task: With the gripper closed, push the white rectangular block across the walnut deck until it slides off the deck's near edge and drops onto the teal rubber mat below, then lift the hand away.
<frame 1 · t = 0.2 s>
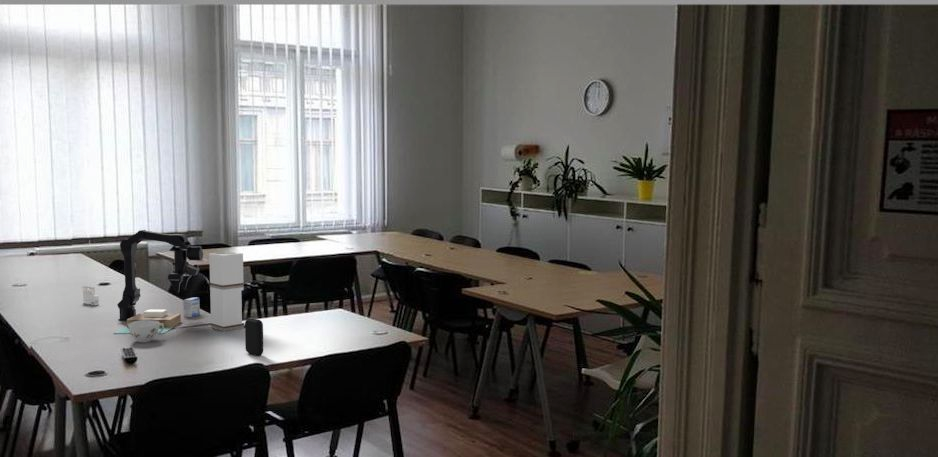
hand: (180, 291, 386), 14 cm above the table, tool pointing down, fingers open, 9 cm apart
mat: (143, 330, 362), on the table
teacup: (147, 341, 343), on the table
deck: (154, 325, 374), on the table
ink cartridge box: (90, 304, 426), on the table
carrying case or bag: (253, 354, 320), on the table
white rectangular block: (155, 315, 376), point 4 cm above the table, touching deck
white square table lamp: (227, 327, 370), on the table
medicine box: (191, 316, 398), on the table
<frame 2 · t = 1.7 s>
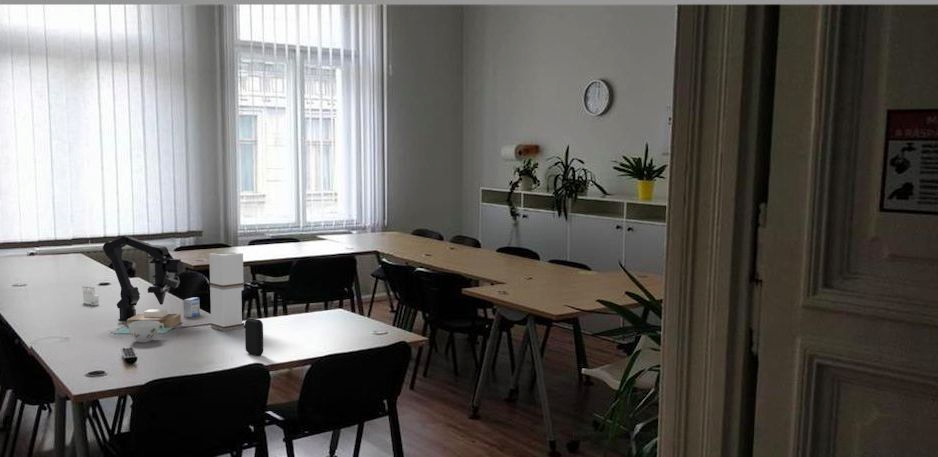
hand: (161, 304, 384), 8 cm above the table, tool pointing down, fingers closed
nothing on the table moved.
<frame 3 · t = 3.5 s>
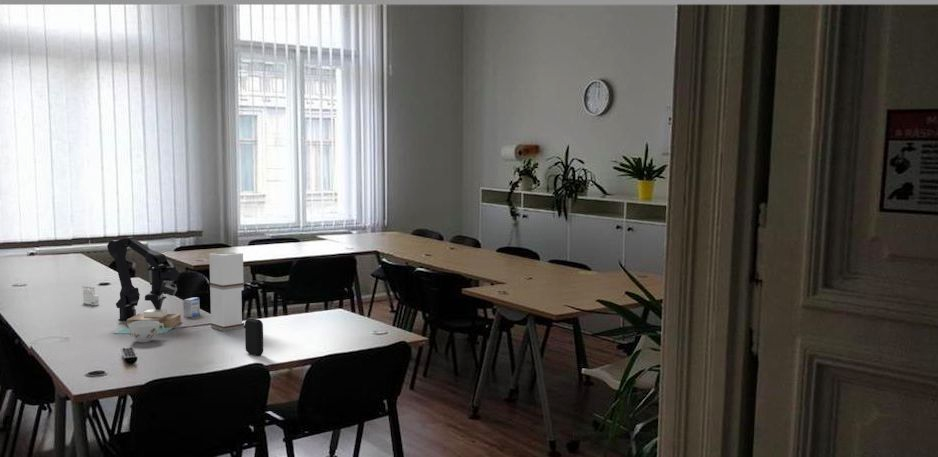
hand: (158, 312, 380), 5 cm above the table, tool pointing down, fingers closed
white rectangular block: (155, 315, 376), point 4 cm above the table, touching deck, gripper
everything else where it was.
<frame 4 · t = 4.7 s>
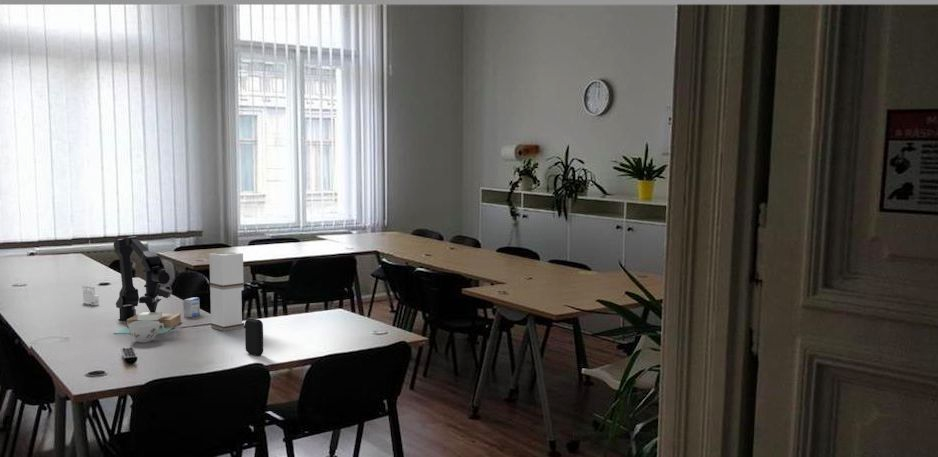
hand: (153, 314, 373), 5 cm above the table, tool pointing down, fingers closed
white rectangular block: (150, 318, 369), point 4 cm above the table
everything else where it was.
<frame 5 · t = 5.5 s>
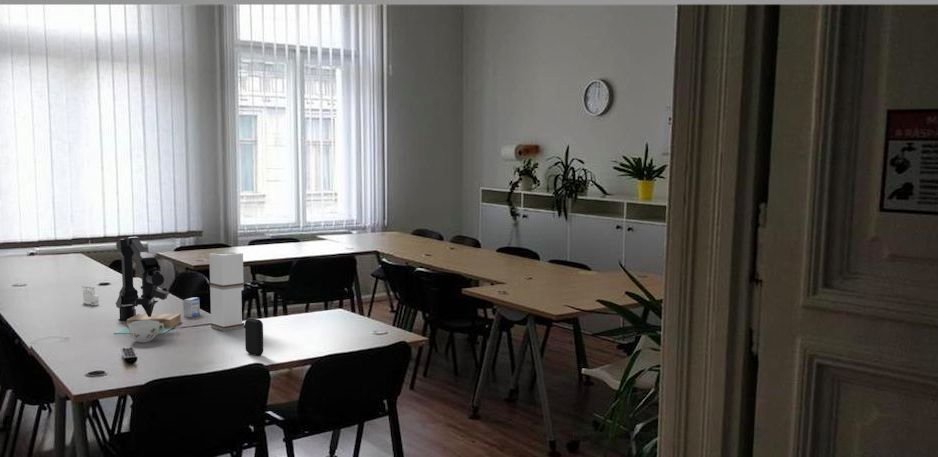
hand: (149, 316, 368), 5 cm above the table, tool pointing down, fingers closed
white rectangular block: (144, 325, 361), point 3 cm above the table, tilted 180°, touching mat
everything else where it was.
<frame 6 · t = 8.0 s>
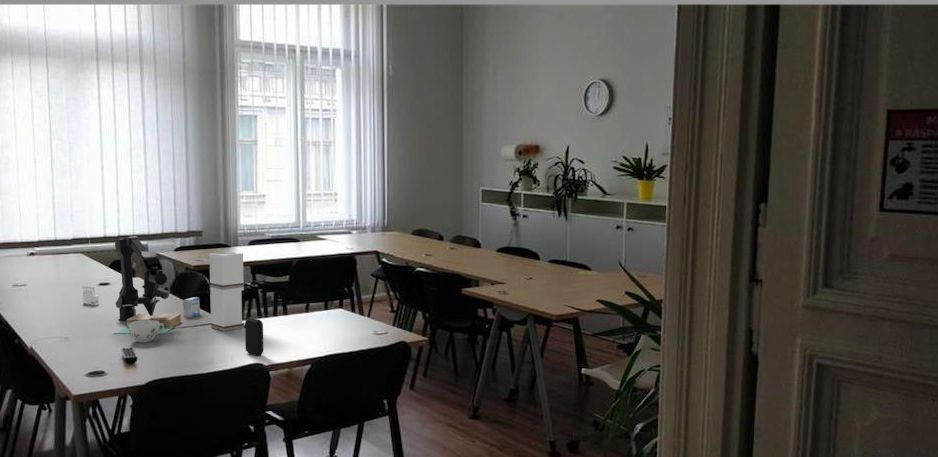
hand: (151, 315, 371), 5 cm above the table, tool pointing down, fingers closed
nothing on the table moved.
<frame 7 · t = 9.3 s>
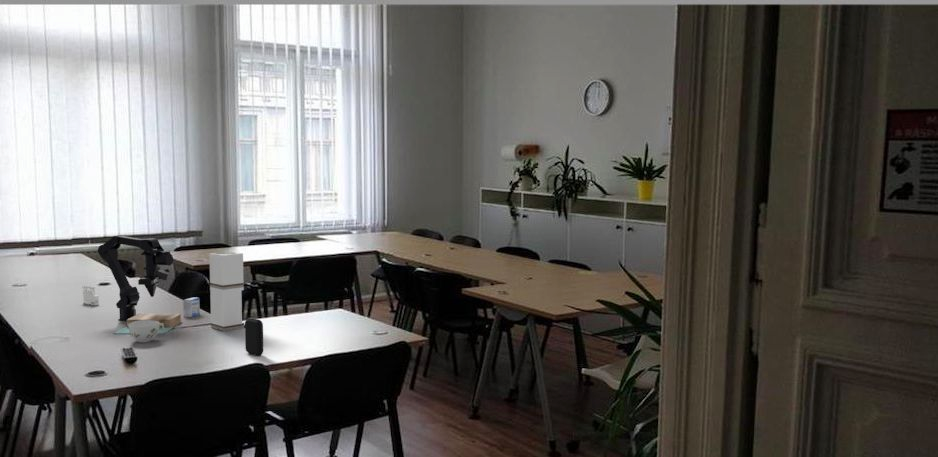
hand: (152, 296, 382), 12 cm above the table, tool pointing down, fingers closed
nothing on the table moved.
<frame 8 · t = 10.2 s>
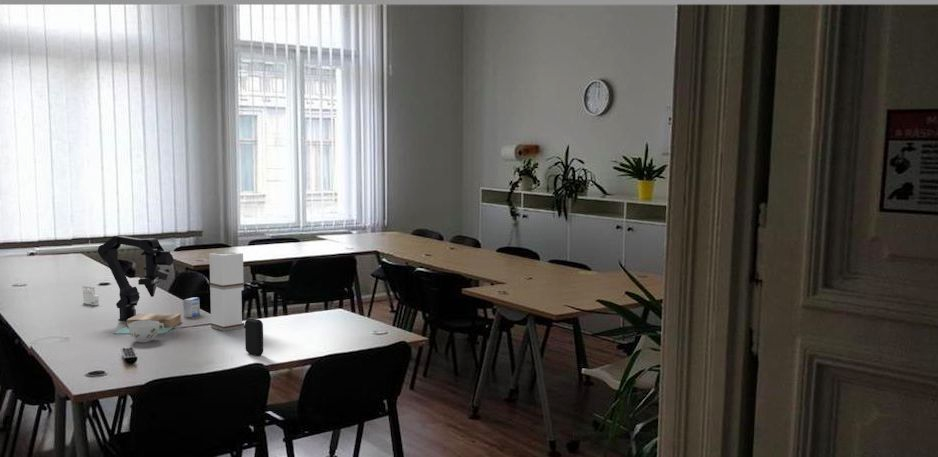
hand: (152, 296, 382), 12 cm above the table, tool pointing down, fingers closed
nothing on the table moved.
at the end: white rectangular block point 2.8 cm above the table; white rectangular block inside the target area (0.4 cm from its centre), point 2.8 cm above the table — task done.
